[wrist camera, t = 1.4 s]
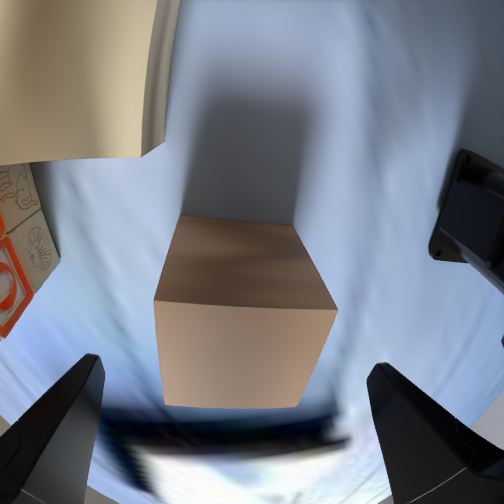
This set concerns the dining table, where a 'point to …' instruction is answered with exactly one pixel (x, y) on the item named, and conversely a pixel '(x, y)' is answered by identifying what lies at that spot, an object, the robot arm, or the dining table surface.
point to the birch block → (84, 78)
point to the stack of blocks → (21, 244)
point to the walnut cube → (239, 315)
